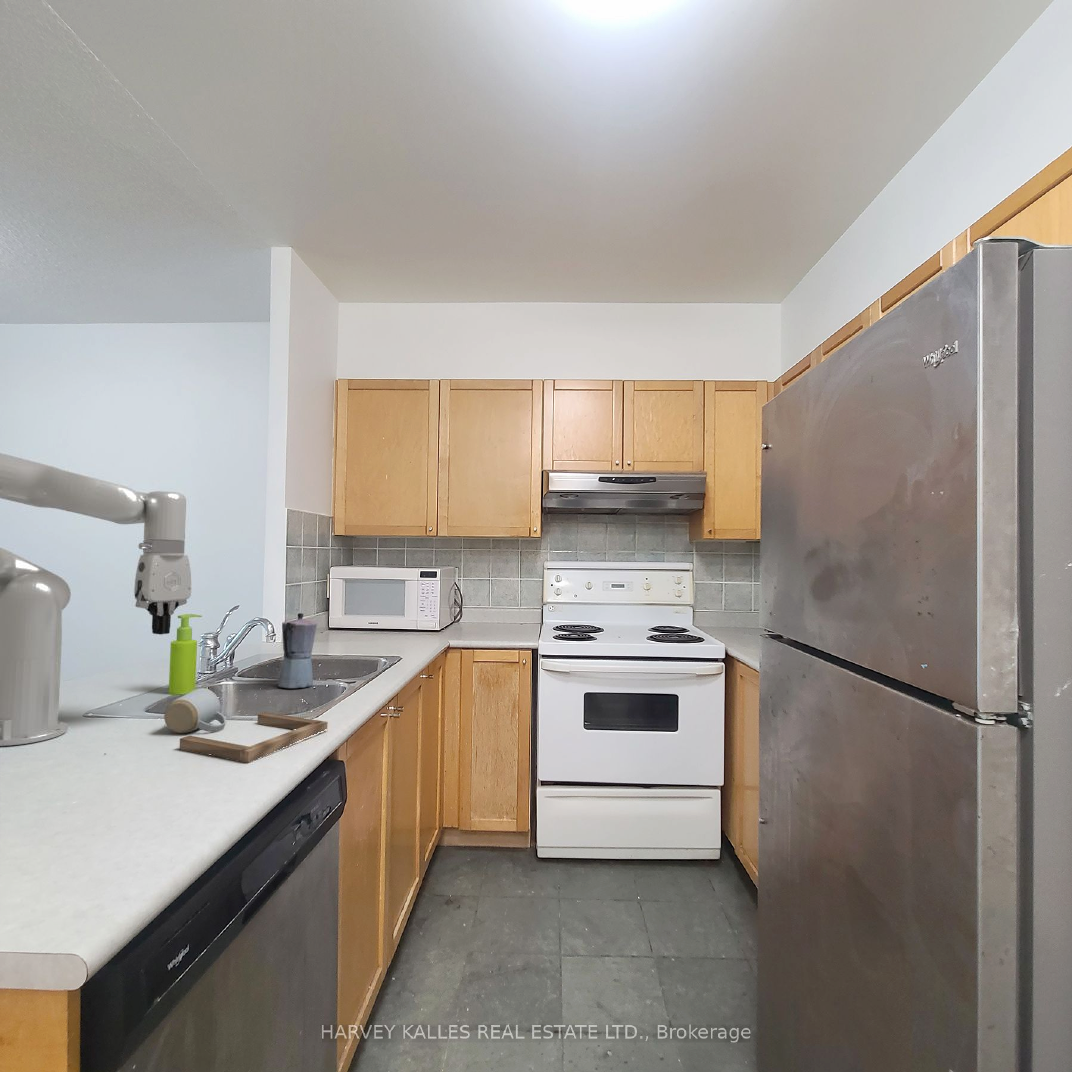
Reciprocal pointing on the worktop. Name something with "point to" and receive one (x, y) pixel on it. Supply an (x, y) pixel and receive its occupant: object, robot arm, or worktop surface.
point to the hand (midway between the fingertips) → (160, 633)
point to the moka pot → (297, 653)
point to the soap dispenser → (183, 659)
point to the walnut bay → (261, 749)
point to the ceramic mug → (194, 712)
